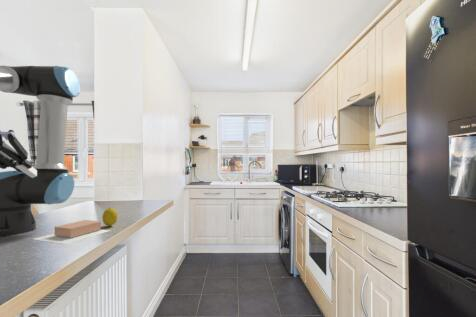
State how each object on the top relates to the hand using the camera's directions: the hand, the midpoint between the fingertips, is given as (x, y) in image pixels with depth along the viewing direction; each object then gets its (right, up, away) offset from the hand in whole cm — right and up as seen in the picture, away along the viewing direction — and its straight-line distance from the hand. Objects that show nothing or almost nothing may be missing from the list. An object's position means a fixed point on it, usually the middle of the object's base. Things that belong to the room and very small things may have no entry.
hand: (34, 174), depth 83 cm
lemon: (+14, -23, +21) cm, 34 cm away
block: (+6, -20, +4) cm, 22 cm away
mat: (+8, -23, +8) cm, 25 cm away
